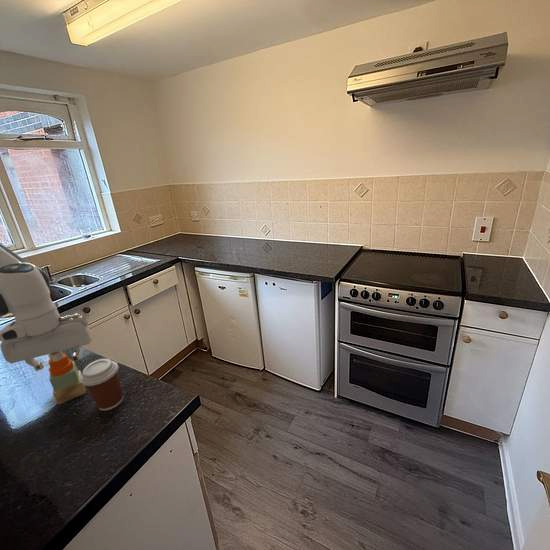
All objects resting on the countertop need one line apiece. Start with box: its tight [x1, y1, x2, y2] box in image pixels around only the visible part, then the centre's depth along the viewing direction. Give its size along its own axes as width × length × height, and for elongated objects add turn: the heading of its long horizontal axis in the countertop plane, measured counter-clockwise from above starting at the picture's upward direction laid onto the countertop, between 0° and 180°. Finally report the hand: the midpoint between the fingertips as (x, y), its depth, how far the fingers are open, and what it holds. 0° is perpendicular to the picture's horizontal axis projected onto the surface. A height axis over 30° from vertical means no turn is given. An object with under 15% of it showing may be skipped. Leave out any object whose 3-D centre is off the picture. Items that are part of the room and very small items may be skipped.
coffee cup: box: [80, 358, 125, 412], centre depth 81 cm, size 9×9×12 cm
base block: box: [52, 369, 87, 406], centre depth 88 cm, size 7×7×4 cm
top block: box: [49, 360, 79, 392], centre depth 86 cm, size 6×6×4 cm
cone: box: [47, 351, 74, 377], centre depth 84 cm, size 6×6×7 cm
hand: (59, 364), depth 85 cm, fingers open, 8 cm apart
